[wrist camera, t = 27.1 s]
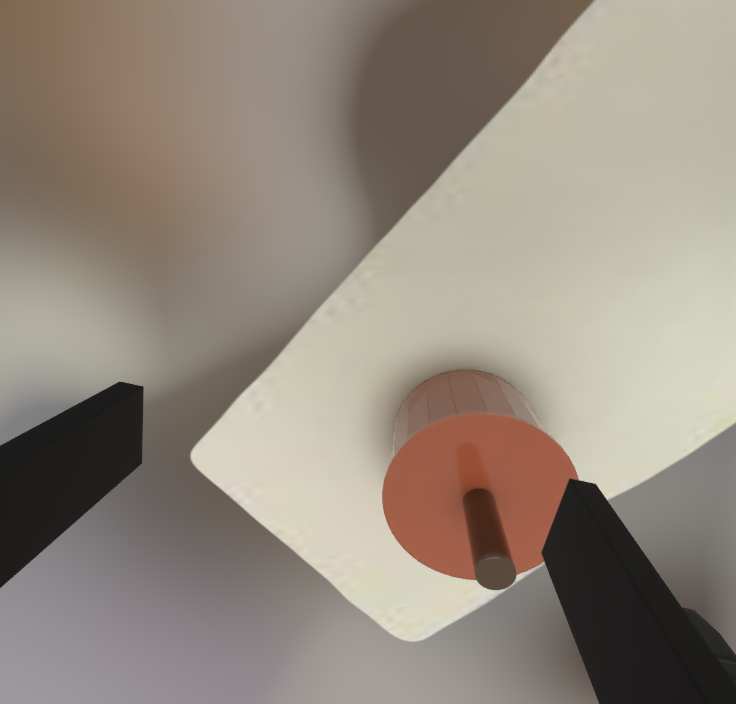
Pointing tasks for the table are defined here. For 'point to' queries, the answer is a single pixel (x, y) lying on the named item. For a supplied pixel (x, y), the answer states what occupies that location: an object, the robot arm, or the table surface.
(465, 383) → the pot
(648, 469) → the table surface
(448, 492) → the lid
